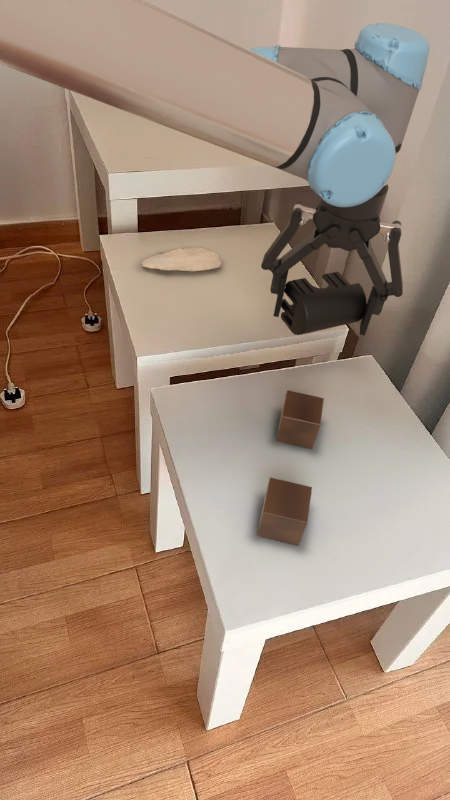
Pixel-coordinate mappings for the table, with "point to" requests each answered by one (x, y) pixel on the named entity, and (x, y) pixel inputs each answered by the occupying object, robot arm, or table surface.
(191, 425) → the table surface
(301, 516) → the walnut block near
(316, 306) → the end cap
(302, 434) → the walnut block middle
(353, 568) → the table surface
